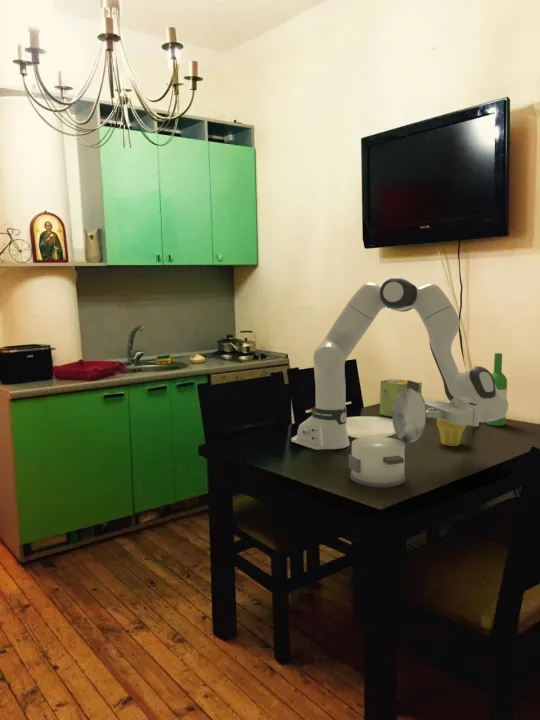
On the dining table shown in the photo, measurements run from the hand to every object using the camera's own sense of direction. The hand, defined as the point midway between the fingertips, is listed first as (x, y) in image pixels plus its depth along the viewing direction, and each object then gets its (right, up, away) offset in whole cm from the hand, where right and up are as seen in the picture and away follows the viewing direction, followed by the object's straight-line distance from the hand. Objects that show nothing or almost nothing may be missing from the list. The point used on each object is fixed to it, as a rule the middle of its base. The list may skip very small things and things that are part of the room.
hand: (424, 413), depth 181 cm
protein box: (+10, -8, +80) cm, 81 cm away
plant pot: (+19, -14, +34) cm, 41 cm away
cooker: (-15, -20, -3) cm, 25 cm away
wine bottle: (+46, -10, +61) cm, 77 cm away
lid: (-6, +1, -2) cm, 6 cm away
